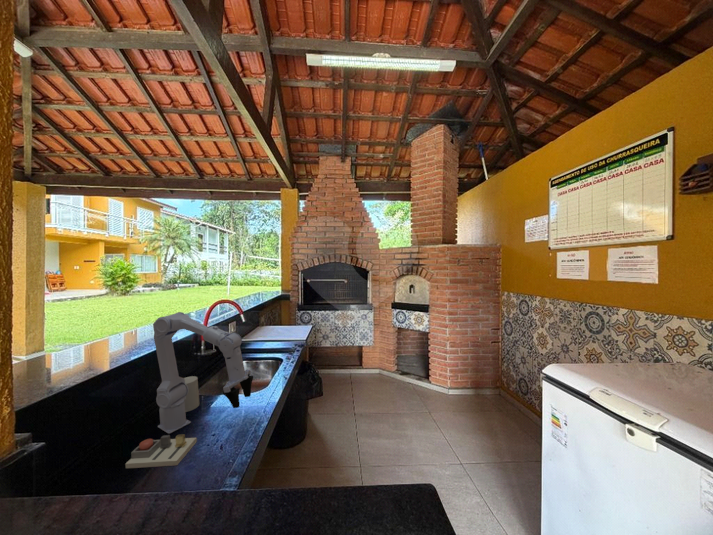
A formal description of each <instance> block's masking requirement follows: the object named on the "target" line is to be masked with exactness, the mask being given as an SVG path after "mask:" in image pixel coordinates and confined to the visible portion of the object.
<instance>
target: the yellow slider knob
mask: <svg viewBox="0 0 713 535" xmlns="http://www.w3.org/2000/svg"><path fill="white" fill-rule="evenodd" d="M185 438H186V434H185V433H184V434H183V433H181V434H177V435H176V436H175V439H176V445H175V447H184V445H185V444H186V443H187V442H185Z"/></svg>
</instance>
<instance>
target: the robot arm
mask: <svg viewBox="0 0 713 535" xmlns="http://www.w3.org/2000/svg"><path fill="white" fill-rule="evenodd" d="M152 327H153V332H154V333H153V340H154V346H155V351H156V356H157V362H158V367H159V374H160V377H161V382H160V385H159V386H158V388H156V397H155V400H156V401H155V402H156V404H157V406H158V407H159V410H158V412H159V422H160V423H159V424H158V425H157V428H159V430H162V431H164V432H165V433H167V435H171V434H172V433H174V432H176V431H178V430H180V429H182V428H184V427H185V426H188V425H189V424H191V423H192V421H191V420H189V419H187V417H186V416H187V415H186V414H187V413H186V412H185V401H184V400H185V399H186V397H185V396H186V395H187V394H188V386H187V385H186V383H185V380H184V378H185V377H182V376H179V375H180V374H179V370H178V365H177V358H176V355H175V349H174V342H173V337H174V336H175V335H176V333H177V332H178V331H180V330H186V331H189V332H192V333H194V334H197V335H200V336H202V339H203V340H204V341H205V342H208V343H210V344H212V345H213V346H216V347H218V349H219V351H220V352H221V353H222V355H223V357H224V360H225V361H224V362H225V365H226V372H227V374H228V375H227V376H228V381H227V382H226V384H225V385H224V386H223V387H222V394H223V396H225V398H227V400H228V401H229V403H230V405H231V406H232V408H233V409H236V408H237V409H238V408H240V389H241V390H242V392H243V393H242V394H243V395H244V397H245V398H249V397H251V394H252V393H251V392H252V384H253V380H254V375H252V371H251V369H245V366H244V360H243V357H242V351H241V350H242V349H241V345H242V343H243V338H242V336H241V335H240V334H239V333H237V332H231V333H230V332H229V331H225V330H223V329H221V328H219V326H217V325H214V326H213V325H212V326H209V327H208V326H206V325H205V324H202V323H200V322H199V321H197V320H195V319H193V318H191V317H190V315H189V314H186V313H184V312H183V311H179V312H176V313H172V314H168V315H165V316H160V317H157V319H156V320H154V322H153V323H152ZM237 385H240V387H241V388H239V387H238V388H236V386H237Z"/></svg>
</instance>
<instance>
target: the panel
mask: <svg viewBox="0 0 713 535" xmlns="http://www.w3.org/2000/svg"><path fill="white" fill-rule="evenodd" d="M170 440H171V442H172V444H171V445H170V446H169V448H160V446H161V439H153V446H152V447H151V448H150V449H149V450H145V451H140V448H139V445H138V446H137V447H135V448H134V449H133V450H132V451H131V452H130V455H131V456H130V459H129V460H128V461H126V463H125V464H124V465H125V469H138V468H139V469H140V468H141V469H142V468H157V467H169V466H172V467H173V466H178V465H179V464H180V462H182V460H183V459H184V458H185V457H186V455H187V454H188V453H189V452H190V451H191V449H192V448H193V447H194V446H195V445H196V443H197V442H198V438H197V437H185V442H187V443H186V444H185V445H184V447H175V445H176V438H170Z"/></svg>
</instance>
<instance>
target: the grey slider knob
mask: <svg viewBox="0 0 713 535" xmlns="http://www.w3.org/2000/svg"><path fill="white" fill-rule="evenodd" d="M170 439H171V434H166V435H165V434H164V435H162V436H161V437H160V440H161V446H160V448H169V446H170V445H171V444H172V442H171V440H170Z"/></svg>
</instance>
